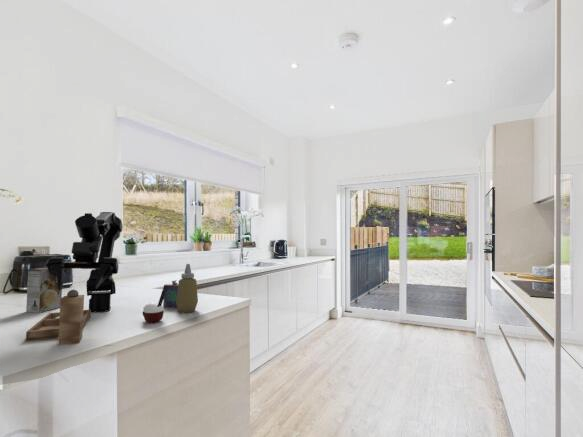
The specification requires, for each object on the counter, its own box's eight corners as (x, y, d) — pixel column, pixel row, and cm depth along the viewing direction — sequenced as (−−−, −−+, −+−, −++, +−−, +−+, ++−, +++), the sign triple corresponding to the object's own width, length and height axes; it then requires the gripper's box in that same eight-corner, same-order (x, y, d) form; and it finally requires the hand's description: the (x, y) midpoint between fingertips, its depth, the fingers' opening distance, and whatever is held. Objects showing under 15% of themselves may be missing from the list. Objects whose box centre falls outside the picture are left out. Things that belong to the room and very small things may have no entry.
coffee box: (48, 306, 126) (50, 266, 127) (61, 307, 125) (63, 267, 126) (25, 312, 117) (27, 269, 118) (39, 312, 116) (41, 269, 117)
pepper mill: (82, 337, 87) (84, 287, 88) (79, 342, 83) (81, 290, 84) (62, 340, 85) (64, 289, 86) (58, 345, 81) (60, 291, 82)
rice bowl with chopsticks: (139, 322, 105) (138, 286, 106) (157, 318, 110) (156, 283, 110) (151, 326, 98) (150, 288, 99) (170, 322, 103) (169, 285, 104)
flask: (161, 306, 127) (162, 280, 127) (166, 305, 129) (167, 279, 130) (180, 308, 124) (181, 281, 124) (185, 307, 126) (186, 280, 127)
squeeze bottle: (177, 314, 114) (178, 265, 115) (174, 310, 121) (175, 263, 122) (199, 312, 117) (200, 264, 119) (195, 308, 125) (196, 262, 126)
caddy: (90, 316, 110) (91, 309, 111) (78, 335, 89) (79, 326, 90) (49, 320, 105) (49, 312, 105) (25, 341, 84) (26, 331, 84)
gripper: (49, 231, 95) (31, 273, 85) (118, 233, 101) (109, 273, 91) (58, 253, 103) (42, 295, 92) (121, 254, 109) (113, 293, 98)
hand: (77, 288), depth 93 cm, fingers open, 9 cm apart
